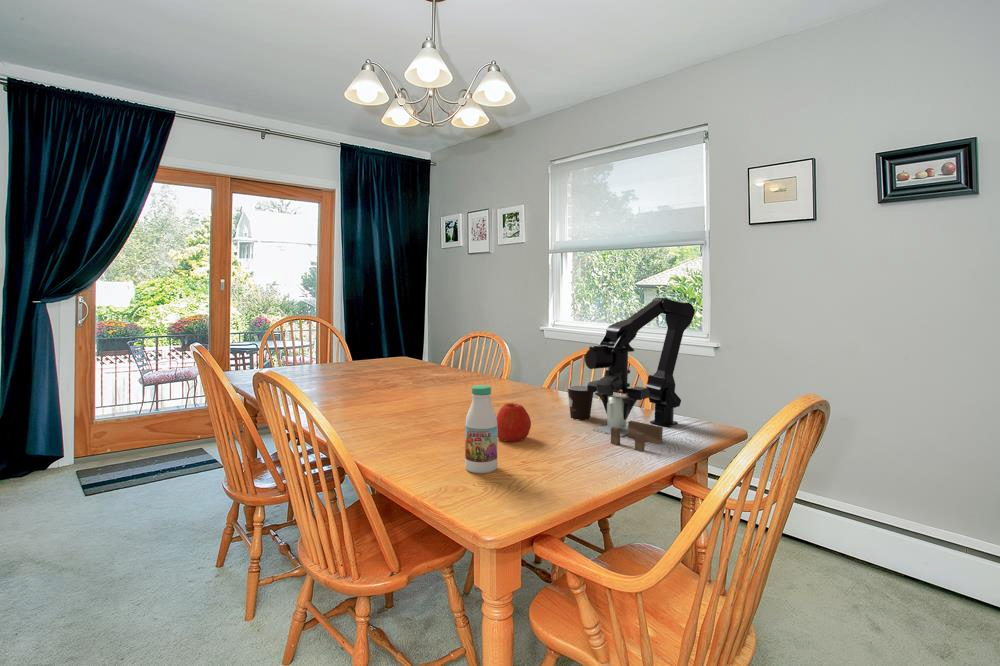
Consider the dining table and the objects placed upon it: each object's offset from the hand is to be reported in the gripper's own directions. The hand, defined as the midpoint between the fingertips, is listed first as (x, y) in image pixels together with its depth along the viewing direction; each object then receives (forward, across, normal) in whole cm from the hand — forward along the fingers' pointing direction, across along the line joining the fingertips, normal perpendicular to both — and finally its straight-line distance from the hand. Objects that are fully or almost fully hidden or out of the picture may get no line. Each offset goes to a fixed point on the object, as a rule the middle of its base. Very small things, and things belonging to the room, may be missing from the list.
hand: (616, 417), depth 159 cm
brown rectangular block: (+4, +11, -7) cm, 14 cm away
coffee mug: (+4, -18, +6) cm, 19 cm away
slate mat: (+4, 0, 0) cm, 4 cm away
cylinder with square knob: (+2, 0, 0) cm, 3 cm away
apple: (+4, -16, -29) cm, 33 cm away
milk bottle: (+4, -4, -52) cm, 52 cm away
